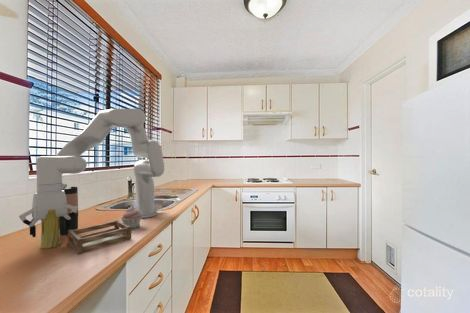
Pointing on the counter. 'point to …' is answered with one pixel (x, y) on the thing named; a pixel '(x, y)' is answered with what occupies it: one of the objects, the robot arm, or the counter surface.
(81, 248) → the tray
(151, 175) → the robot arm
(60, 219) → the travel mug
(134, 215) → the cupcake
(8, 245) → the counter surface
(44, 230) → the vase
